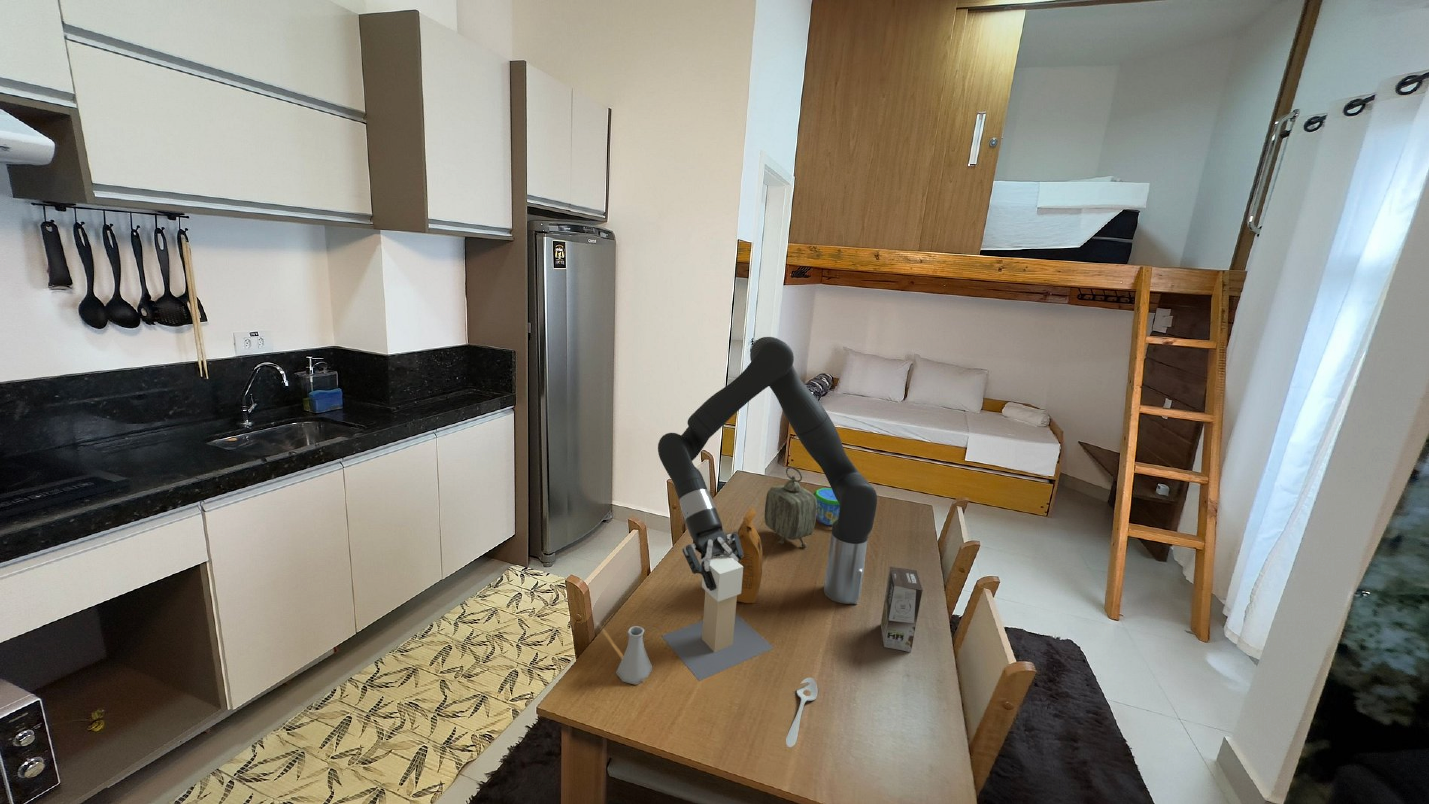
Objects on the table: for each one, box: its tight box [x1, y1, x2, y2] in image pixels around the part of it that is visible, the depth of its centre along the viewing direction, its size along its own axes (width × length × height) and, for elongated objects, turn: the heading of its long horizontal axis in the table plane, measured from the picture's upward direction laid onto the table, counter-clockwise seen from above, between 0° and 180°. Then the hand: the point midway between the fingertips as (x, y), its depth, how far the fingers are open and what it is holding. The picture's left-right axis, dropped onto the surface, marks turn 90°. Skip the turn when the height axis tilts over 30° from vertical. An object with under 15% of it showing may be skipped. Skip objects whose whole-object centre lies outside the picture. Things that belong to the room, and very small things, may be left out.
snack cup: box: [812, 487, 840, 526], centre depth 189 cm, size 16×10×10 cm
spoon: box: [785, 677, 818, 748], centre depth 107 cm, size 4×21×2 cm, turn 158°
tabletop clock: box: [764, 466, 817, 549], centre depth 171 cm, size 14×9×25 cm, turn 34°
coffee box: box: [880, 566, 924, 653], centre depth 130 cm, size 9×6×16 cm
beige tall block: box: [702, 589, 738, 652], centre depth 123 cm, size 5×5×16 cm
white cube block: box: [701, 555, 743, 602], centre depth 121 cm, size 6×6×7 cm
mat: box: [661, 612, 774, 682], centre depth 125 cm, size 20×16×1 cm
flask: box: [615, 625, 653, 685], centre depth 114 cm, size 7×7×10 cm
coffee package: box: [736, 508, 763, 604], centre depth 143 cm, size 10×12×22 cm
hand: (726, 585), depth 120 cm, fingers closed on white cube block, 6 cm apart
